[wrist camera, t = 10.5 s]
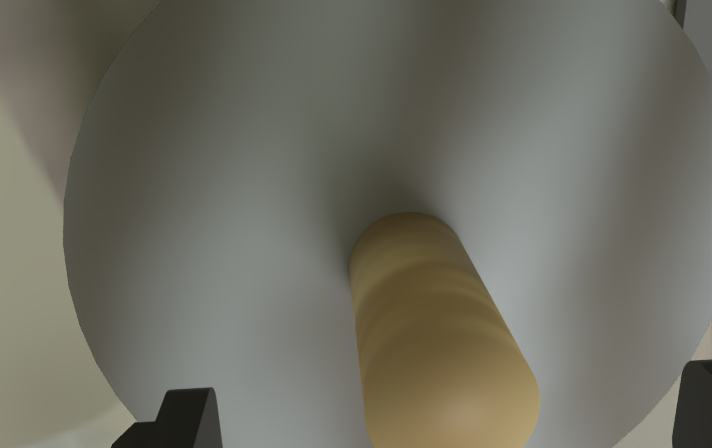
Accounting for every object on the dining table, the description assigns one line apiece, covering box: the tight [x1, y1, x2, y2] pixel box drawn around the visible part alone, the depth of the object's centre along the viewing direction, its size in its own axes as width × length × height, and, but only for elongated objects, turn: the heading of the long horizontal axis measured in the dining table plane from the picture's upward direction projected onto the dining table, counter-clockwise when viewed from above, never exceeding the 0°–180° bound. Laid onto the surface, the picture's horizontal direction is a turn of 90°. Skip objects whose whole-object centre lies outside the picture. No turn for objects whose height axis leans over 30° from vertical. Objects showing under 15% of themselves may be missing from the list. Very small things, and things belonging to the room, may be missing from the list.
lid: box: [63, 0, 712, 448], centre depth 15 cm, size 17×17×7 cm
